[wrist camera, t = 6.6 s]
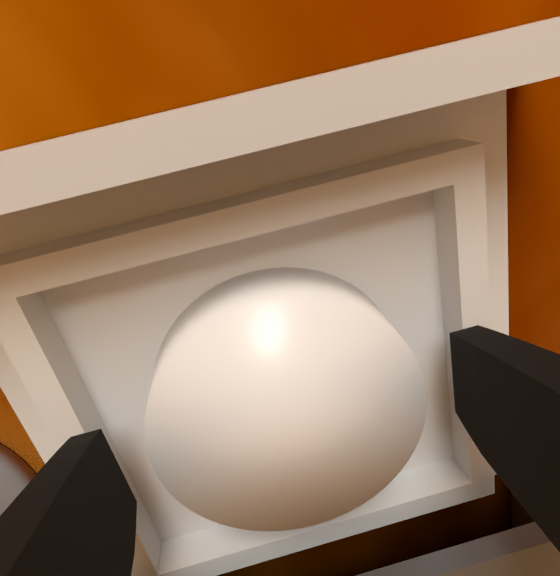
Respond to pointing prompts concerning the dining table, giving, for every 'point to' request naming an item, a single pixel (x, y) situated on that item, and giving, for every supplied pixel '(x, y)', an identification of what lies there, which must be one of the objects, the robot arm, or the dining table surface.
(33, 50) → the dining table surface
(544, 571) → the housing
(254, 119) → the tray
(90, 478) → the robot arm
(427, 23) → the dining table surface
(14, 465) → the grey cup
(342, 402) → the beige rounded shape
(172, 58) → the dining table surface
